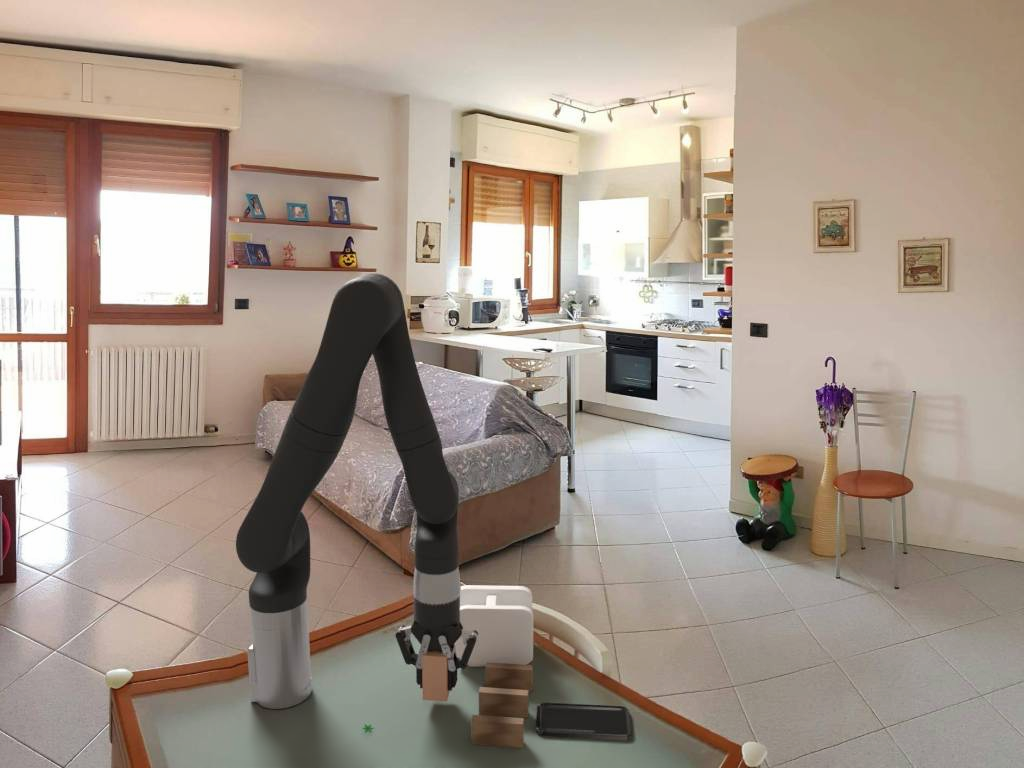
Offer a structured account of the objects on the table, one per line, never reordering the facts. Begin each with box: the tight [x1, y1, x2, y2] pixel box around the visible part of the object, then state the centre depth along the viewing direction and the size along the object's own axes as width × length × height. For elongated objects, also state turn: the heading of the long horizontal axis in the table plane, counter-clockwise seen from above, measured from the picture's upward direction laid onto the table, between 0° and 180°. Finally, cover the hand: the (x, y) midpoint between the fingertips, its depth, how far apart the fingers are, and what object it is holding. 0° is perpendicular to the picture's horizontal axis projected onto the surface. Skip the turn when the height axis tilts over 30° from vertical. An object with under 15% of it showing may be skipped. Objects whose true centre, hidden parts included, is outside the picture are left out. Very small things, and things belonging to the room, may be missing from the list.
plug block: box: [422, 650, 451, 702], centre depth 129 cm, size 4×4×8 cm
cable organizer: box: [455, 584, 534, 668], centre depth 145 cm, size 15×11×12 cm
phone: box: [535, 702, 632, 741], centre depth 125 cm, size 8×1×15 cm
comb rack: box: [470, 662, 534, 748], centre depth 127 cm, size 8×16×4 cm, turn 173°
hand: (437, 686), depth 129 cm, fingers closed on plug block, 4 cm apart
